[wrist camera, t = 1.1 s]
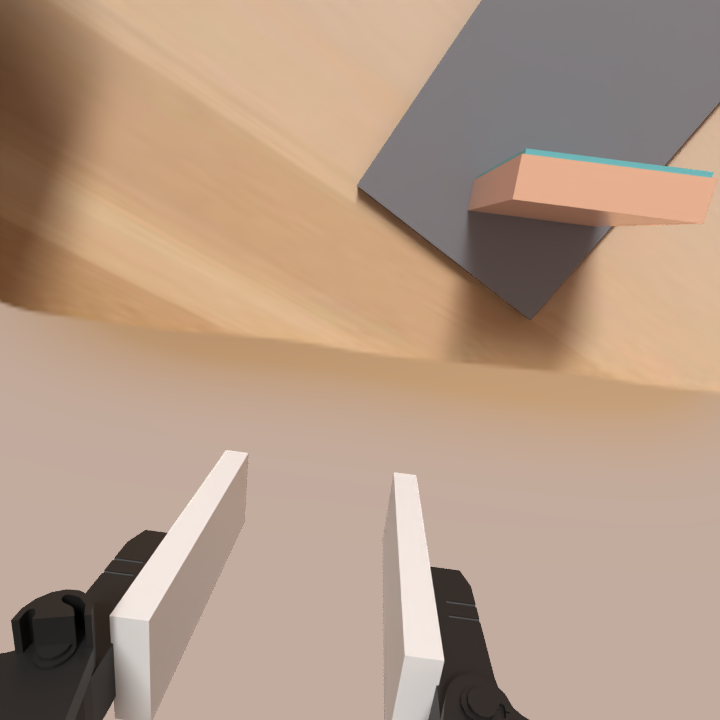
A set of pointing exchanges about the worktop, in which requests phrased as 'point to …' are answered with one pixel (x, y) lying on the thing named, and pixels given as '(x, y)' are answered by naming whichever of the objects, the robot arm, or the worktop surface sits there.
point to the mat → (544, 123)
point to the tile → (592, 190)
